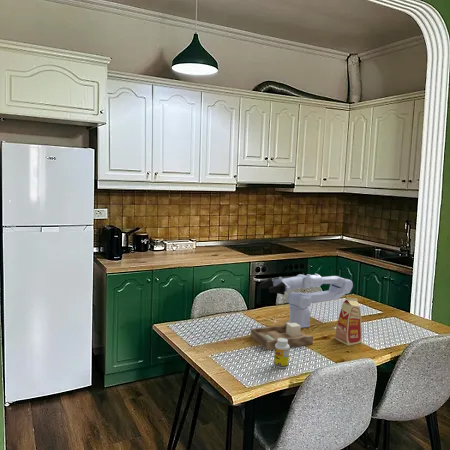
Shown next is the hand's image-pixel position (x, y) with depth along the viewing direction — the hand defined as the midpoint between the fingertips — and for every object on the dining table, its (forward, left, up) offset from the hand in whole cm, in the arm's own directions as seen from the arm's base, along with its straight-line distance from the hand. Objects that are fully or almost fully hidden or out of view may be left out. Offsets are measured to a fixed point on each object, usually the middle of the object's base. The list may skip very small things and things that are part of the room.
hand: (264, 288), depth 201 cm
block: (-8, +13, -18) cm, 24 cm away
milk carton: (-31, +22, -21) cm, 44 cm away
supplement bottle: (+11, +36, -21) cm, 43 cm away
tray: (-2, +13, -20) cm, 24 cm away
